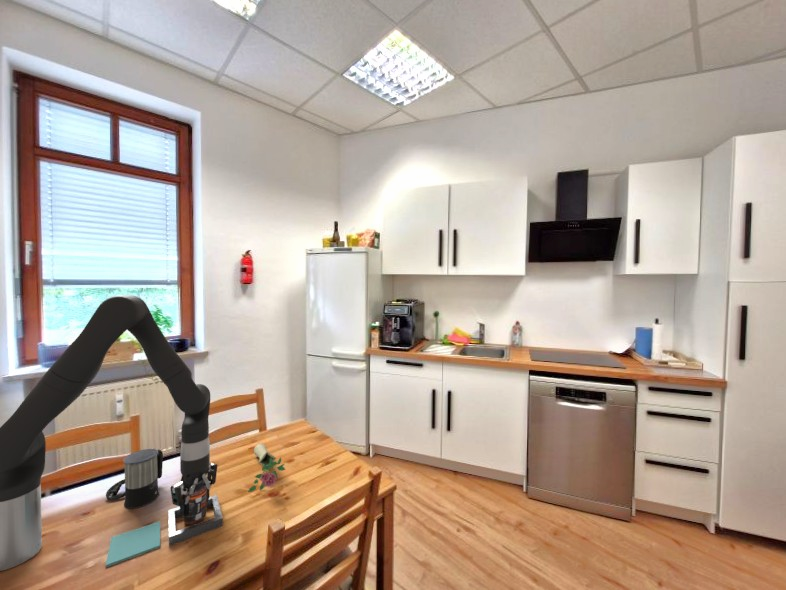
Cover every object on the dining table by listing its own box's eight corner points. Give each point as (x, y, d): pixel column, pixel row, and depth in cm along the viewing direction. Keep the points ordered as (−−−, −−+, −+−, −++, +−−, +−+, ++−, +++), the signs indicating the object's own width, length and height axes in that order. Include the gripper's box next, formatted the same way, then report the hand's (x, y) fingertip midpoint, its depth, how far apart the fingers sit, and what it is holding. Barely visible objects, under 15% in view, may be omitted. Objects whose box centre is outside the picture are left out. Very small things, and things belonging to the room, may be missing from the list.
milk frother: (154, 505, 104) (153, 459, 104) (91, 518, 98) (90, 469, 98) (166, 480, 117) (165, 440, 117) (111, 490, 111) (111, 448, 111)
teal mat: (105, 567, 81) (105, 565, 81) (111, 539, 90) (111, 537, 90) (159, 547, 87) (159, 545, 87) (160, 523, 96) (160, 521, 96)
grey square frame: (168, 546, 87) (168, 537, 87) (168, 518, 98) (168, 510, 98) (222, 526, 95) (222, 517, 95) (216, 502, 105) (216, 494, 105)
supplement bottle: (205, 522, 96) (205, 484, 96) (181, 527, 94) (181, 489, 93) (207, 509, 101) (207, 473, 101) (185, 514, 99) (185, 478, 99)
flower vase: (269, 473, 135) (286, 502, 105) (238, 471, 130) (247, 501, 100) (276, 442, 139) (296, 462, 109) (247, 440, 134) (258, 459, 104)
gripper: (181, 468, 89) (181, 527, 89) (224, 444, 103) (224, 496, 103) (162, 462, 92) (162, 521, 92) (206, 440, 105) (206, 491, 105)
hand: (195, 507), depth 97 cm, fingers closed on supplement bottle, 6 cm apart
